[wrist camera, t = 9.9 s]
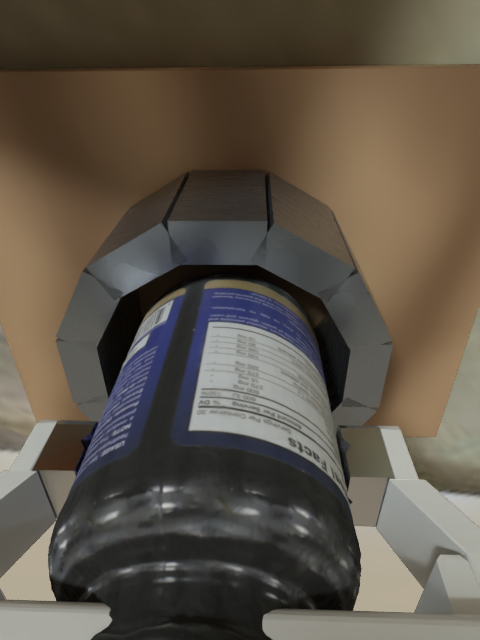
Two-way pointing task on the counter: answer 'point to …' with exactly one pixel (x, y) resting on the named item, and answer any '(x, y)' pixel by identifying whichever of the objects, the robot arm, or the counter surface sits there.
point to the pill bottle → (211, 475)
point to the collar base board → (270, 155)
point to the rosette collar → (227, 249)
